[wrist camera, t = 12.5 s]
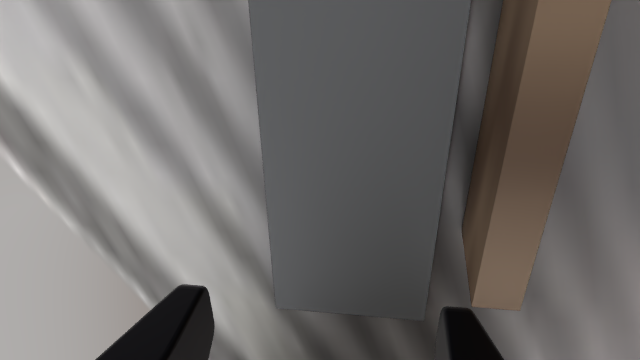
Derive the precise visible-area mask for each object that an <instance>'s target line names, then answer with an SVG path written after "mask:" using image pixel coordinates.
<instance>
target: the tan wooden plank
mask: <svg viewBox="0 0 640 360" xmlns="http://www.w3.org/2000/svg"><path fill="white" fill-rule="evenodd" d="M610 4H611V0H503V5H502V10H501V16H500V21H499V27H498V32H497V38H496V43H495V49H494V54H493V60H492V66H491V71H490V77H489V82H488V88H487V93H486V99H485V104H484V110H483V115H482V121H481V126H480V132H479V137H478V143H477V149H476V154H475V160H474V165H473V171H472V176H471V182H470V187H469V193H468V198H467V204H466V209H465V215H464V220H463V226H462V237H463V245H464V252H465V260H466V267H467V275H468V282H469V290H470V297H471V305H472V307H481V308H493V309H505V310H517V311H520V309H521V305H522V302H523V298H524V295H525V292H526V288H527V285H528V282H529V278H530V275H531V271H532V268H533V265H534V261H535V258H536V254H537V251H538V248H539V244H540V241H541V237H542V234H543V231H544V227H545V224H546V221H547V217H548V214H549V210H550V207H551V204H552V200H553V197H554V193H555V190H556V187H557V183H558V180H559V176H560V173H561V170H562V166H563V163H564V159H565V156H566V153H567V149H568V146H569V143H570V139H571V136H572V132H573V129H574V126H575V122H576V119H577V115H578V112H579V109H580V105H581V102H582V98H583V95H584V92H585V88H586V85H587V82H588V78H589V75H590V71H591V68H592V65H593V61H594V58H595V54H596V51H597V48H598V44H599V41H600V37H601V34H602V31H603V27H604V24H605V21H606V17H607V14H608V10H609V7H610Z"/></svg>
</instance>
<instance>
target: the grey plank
mask: <svg viewBox="0 0 640 360" xmlns="http://www.w3.org/2000/svg"><path fill="white" fill-rule="evenodd" d="M248 2H249V13H250V24H251V36H252V47H253V58H254V70H255V81H256V92H257V103H258V115H259V126H260V137H261V149H262V160H263V171H264V182H265V194H266V205H267V216H268V228H269V239H270V250H271V261H272V273H273V284H274V295H275V307H276V308H280V309H292V310H303V311H315V312H326V313H338V314H349V315H360V316H372V317H383V318H395V319H406V320H418V321H424V318H425V311H426V305H427V298H428V291H429V284H430V277H431V270H432V264H433V257H434V250H435V243H436V236H437V230H438V223H439V216H440V209H441V202H442V196H443V189H444V182H445V175H446V168H447V162H448V155H449V148H450V141H451V134H452V127H453V121H454V114H455V107H456V100H457V93H458V87H459V80H460V73H461V66H462V59H463V53H464V46H465V39H466V32H467V25H468V18H469V12H470V5H471V0H248Z"/></svg>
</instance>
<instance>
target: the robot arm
mask: <svg viewBox="0 0 640 360" xmlns="http://www.w3.org/2000/svg"><path fill="white" fill-rule="evenodd" d="M213 336H214V318H213V312H212V307H211V302H210V296H209V292H208V290H207V288H206V287H204V286H198V285H186V284H183V285H180V286H178V287H176V288H175V289H174V290H173V291H172V292H171V293H169V294H168V295H167V296H166V297H165V298H164V299H163V300H162V301H160V302H159V303H158V304H157V305H156V306H155V307H154V308H153V309H152V310H150V311H149V312H148V313H147V314H146V315H145V316H144V317H143V318H141V319H140V320H139V321H138V322H137V323H136V324H135V325H134V326H133V327H131V328H130V329H129V330H128V331H127V332H126V333H125V334H124V335H122V336H121V337H120V338H119V339H118V340H117V341H116V342H115V343H113V345H111V346H110V347H109V348H108V349H107V350H106V351H104V353H102V354H101V355H100V356H99V357H98V358H97V359H96V360H208V358H209V354H210V349H211V345H212V341H213ZM435 360H504V359H503V357H502V356H501V354H500V353H499V351H498V349H497V348H496V346H495V345H494V343H493V342H492V340H491V339H490V337H489V336H488V334H487V332H486V331H485V329H484V328H483V326H482V325H481V323H480V322H479V320H478V319H477V317H476V315H475V314H474V313H473V311H472V310H470V309H468V308H461V307H449V306H446V307H444V308H442V310H441V313H440V319H439V325H438V331H437V337H436V343H435Z"/></svg>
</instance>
